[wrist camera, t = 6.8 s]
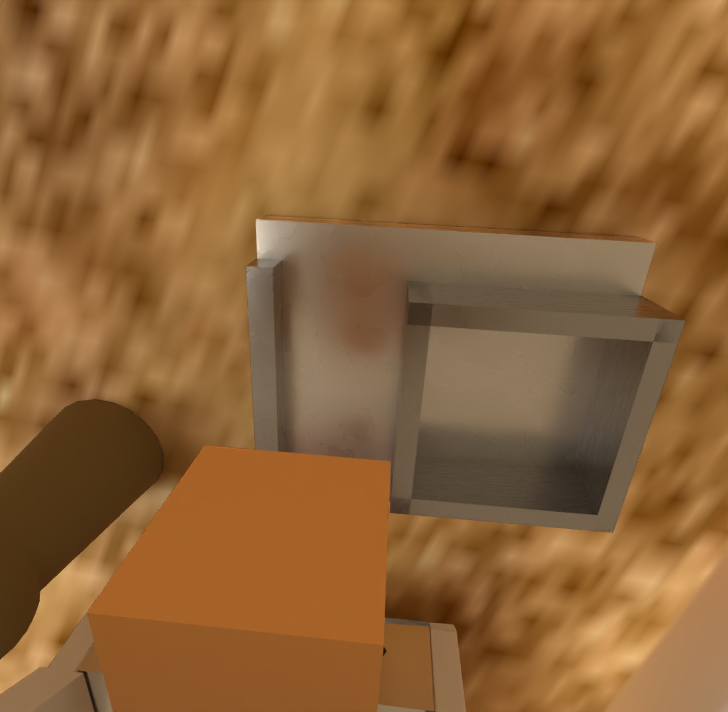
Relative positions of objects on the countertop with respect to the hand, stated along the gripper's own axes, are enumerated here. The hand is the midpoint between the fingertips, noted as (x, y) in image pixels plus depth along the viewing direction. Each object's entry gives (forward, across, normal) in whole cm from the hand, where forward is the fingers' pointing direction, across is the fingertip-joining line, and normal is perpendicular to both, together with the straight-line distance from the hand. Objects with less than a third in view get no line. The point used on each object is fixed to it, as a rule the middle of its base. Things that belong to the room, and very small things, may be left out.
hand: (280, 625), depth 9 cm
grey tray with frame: (+13, -4, 0) cm, 14 cm away
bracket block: (+2, 0, 0) cm, 2 cm away
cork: (+13, +13, +6) cm, 19 cm away
